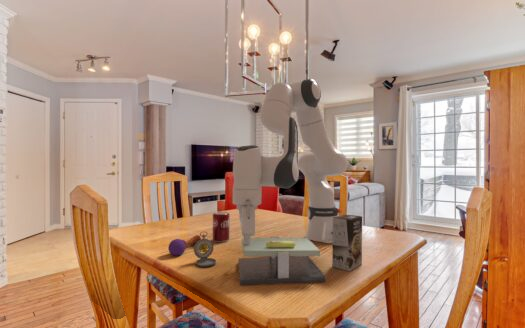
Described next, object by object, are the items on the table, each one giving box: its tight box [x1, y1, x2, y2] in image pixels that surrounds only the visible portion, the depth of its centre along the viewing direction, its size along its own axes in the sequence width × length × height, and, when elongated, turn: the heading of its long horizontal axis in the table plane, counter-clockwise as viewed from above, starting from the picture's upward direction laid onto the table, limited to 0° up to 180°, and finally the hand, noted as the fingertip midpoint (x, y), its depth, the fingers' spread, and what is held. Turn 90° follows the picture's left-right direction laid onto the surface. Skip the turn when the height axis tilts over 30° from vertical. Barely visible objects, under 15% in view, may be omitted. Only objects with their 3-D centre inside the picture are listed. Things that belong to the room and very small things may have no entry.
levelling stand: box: [238, 236, 326, 286], centre depth 87 cm, size 24×18×8 cm
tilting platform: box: [241, 237, 321, 257], centre depth 87 cm, size 22×14×4 cm, turn 96°
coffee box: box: [331, 214, 363, 272], centre depth 93 cm, size 9×6×16 cm
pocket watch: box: [193, 231, 217, 268], centre depth 95 cm, size 8×8×10 cm
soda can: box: [212, 211, 231, 243], centre depth 123 cm, size 7×7×12 cm
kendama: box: [167, 234, 202, 257], centre depth 110 cm, size 6×6×20 cm
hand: (246, 243), depth 86 cm, fingers closed
